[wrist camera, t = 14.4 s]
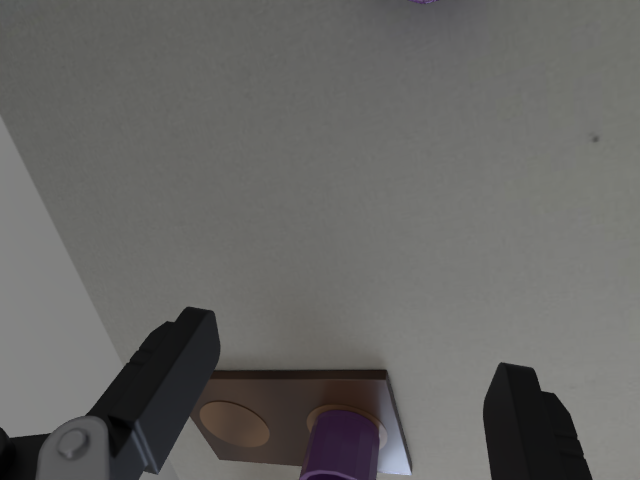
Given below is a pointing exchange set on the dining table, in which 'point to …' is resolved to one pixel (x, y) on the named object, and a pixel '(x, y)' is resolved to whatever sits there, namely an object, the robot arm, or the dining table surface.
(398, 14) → the dining table surface
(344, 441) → the ramekin
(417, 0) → the ramekin
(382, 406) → the serving board
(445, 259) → the dining table surface
